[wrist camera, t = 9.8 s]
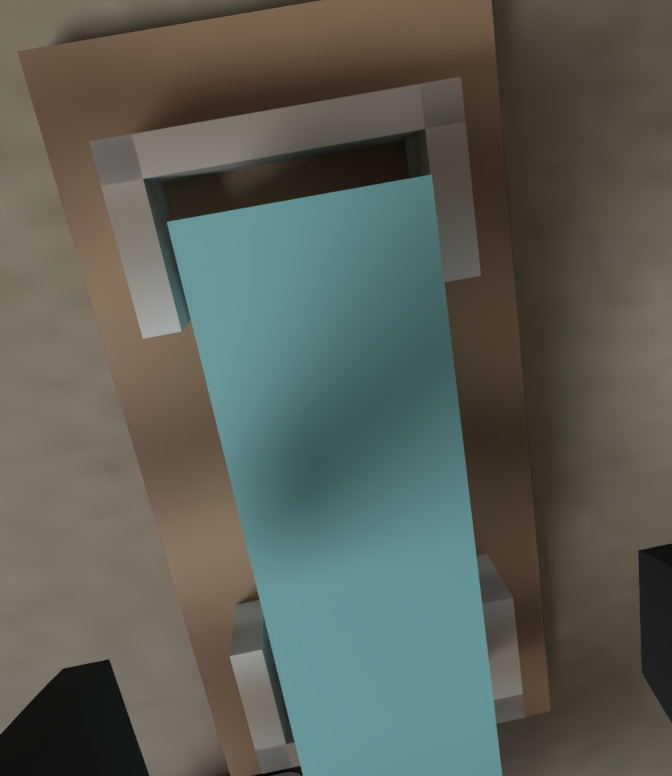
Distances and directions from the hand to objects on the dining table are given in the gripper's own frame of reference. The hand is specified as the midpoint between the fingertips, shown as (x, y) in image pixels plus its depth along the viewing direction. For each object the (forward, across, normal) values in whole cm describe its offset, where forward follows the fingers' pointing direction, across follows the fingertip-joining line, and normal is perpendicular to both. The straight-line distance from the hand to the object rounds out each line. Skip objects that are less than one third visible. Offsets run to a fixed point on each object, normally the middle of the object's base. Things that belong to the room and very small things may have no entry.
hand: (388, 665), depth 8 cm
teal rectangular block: (+8, 0, 0) cm, 8 cm away
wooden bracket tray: (+9, 0, 0) cm, 9 cm away
